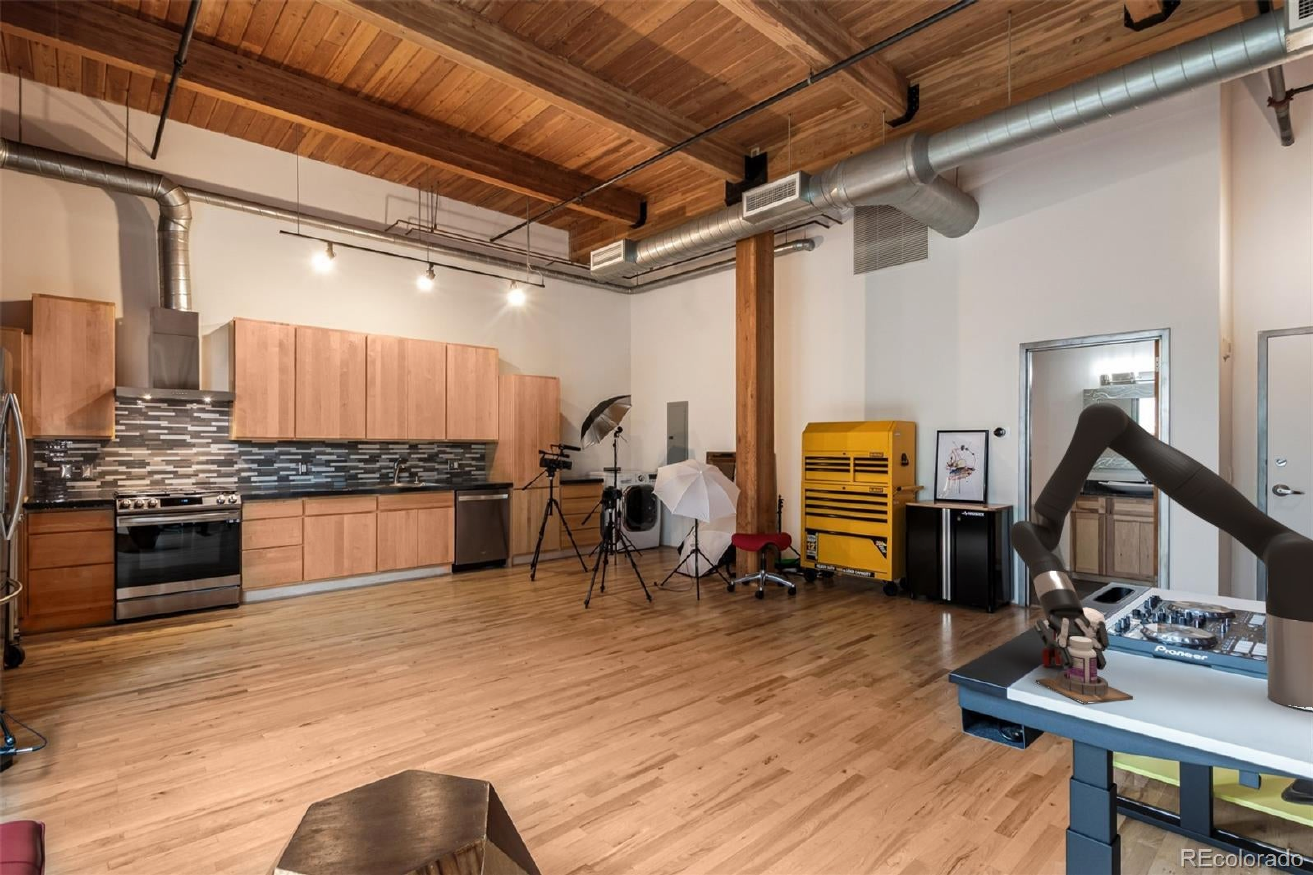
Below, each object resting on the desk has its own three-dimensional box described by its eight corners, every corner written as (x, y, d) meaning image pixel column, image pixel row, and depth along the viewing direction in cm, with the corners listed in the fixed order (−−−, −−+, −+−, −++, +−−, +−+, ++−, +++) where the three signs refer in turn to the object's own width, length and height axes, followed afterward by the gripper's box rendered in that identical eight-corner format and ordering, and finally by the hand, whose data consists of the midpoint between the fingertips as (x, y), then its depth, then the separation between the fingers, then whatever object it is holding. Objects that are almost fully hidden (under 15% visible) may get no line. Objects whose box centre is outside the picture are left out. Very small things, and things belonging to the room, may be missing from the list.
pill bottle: (1087, 679, 134) (1087, 635, 134) (1103, 689, 129) (1102, 643, 129) (1061, 679, 135) (1060, 634, 135) (1075, 688, 129) (1074, 642, 129)
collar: (1081, 677, 139) (1081, 666, 139) (1133, 699, 127) (1133, 686, 127) (1035, 682, 136) (1035, 670, 136) (1084, 704, 124) (1083, 691, 124)
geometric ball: (1079, 645, 169) (1059, 618, 173) (1103, 633, 171) (1081, 606, 175) (1095, 639, 163) (1073, 611, 167) (1119, 626, 164) (1097, 599, 168)
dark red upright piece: (1083, 661, 149) (1082, 618, 149) (1076, 676, 140) (1075, 629, 140) (1049, 655, 154) (1048, 613, 154) (1040, 669, 144) (1039, 624, 144)
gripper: (1028, 586, 140) (1054, 657, 128) (1097, 588, 138) (1131, 660, 126) (1018, 604, 146) (1043, 674, 134) (1085, 605, 143) (1116, 677, 131)
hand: (1086, 667), depth 130 cm, fingers closed on pill bottle, 5 cm apart
